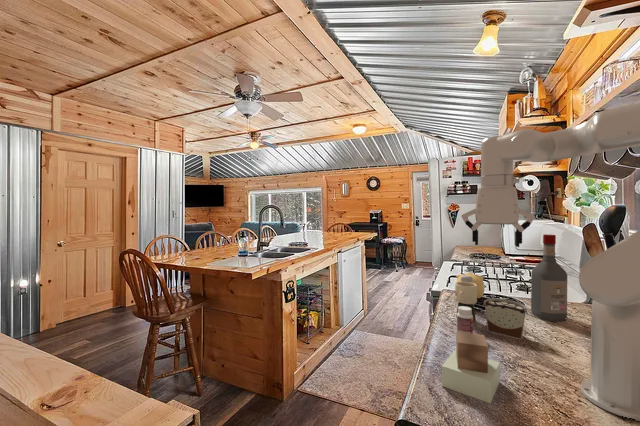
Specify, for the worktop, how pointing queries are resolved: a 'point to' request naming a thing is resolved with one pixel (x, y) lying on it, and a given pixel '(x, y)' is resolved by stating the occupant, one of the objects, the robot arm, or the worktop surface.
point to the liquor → (549, 285)
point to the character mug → (466, 295)
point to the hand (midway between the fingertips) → (496, 245)
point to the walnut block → (471, 352)
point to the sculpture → (476, 280)
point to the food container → (505, 317)
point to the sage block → (471, 379)
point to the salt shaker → (466, 279)
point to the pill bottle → (464, 320)
